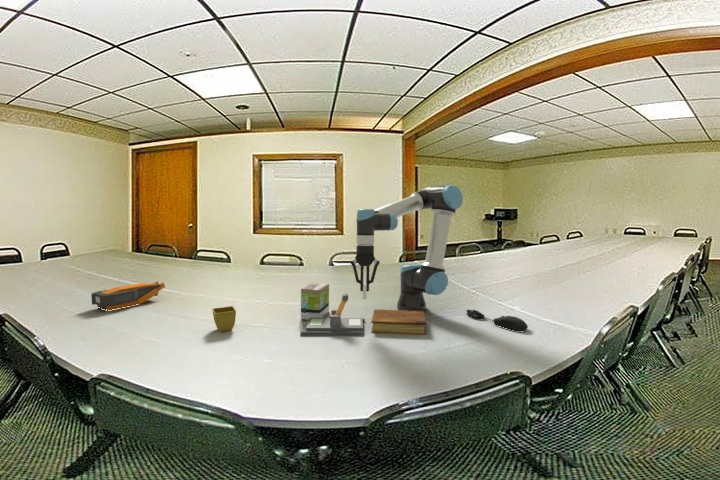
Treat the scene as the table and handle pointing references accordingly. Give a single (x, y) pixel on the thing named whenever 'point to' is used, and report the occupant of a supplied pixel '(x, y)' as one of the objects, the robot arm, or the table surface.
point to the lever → (342, 304)
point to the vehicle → (126, 295)
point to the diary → (398, 322)
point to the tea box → (314, 301)
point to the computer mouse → (503, 321)
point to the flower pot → (224, 318)
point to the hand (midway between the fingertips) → (364, 298)
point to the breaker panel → (335, 323)
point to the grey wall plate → (332, 333)
